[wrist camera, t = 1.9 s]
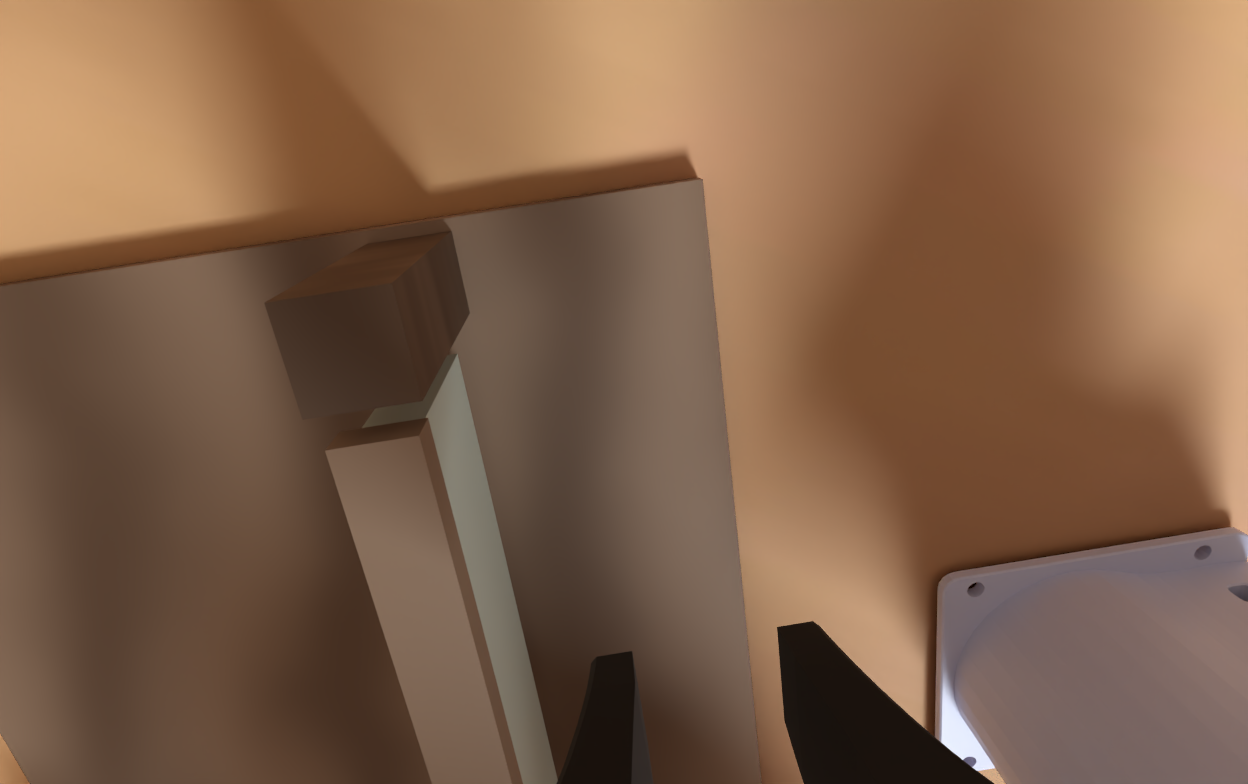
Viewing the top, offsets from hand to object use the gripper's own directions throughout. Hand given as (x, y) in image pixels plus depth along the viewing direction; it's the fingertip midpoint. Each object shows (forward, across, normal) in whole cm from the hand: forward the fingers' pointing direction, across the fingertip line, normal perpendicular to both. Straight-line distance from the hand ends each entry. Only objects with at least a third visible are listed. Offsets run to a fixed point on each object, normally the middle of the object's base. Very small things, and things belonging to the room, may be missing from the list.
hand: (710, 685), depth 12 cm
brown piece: (+8, +9, +4) cm, 13 cm away
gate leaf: (+7, +5, +3) cm, 9 cm away
